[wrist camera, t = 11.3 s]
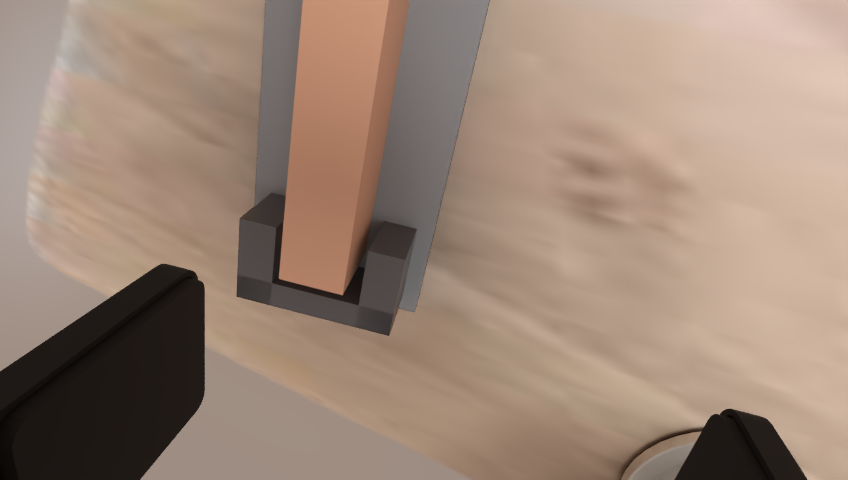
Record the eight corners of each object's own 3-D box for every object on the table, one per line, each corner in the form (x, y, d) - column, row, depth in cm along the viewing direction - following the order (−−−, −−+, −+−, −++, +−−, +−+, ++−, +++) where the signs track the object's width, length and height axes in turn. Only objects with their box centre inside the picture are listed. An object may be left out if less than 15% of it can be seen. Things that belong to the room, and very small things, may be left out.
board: (294, -257, 22) (280, -274, 21) (538, -205, 21) (541, -219, 20) (260, 260, 34) (250, 270, 32) (418, 300, 33) (414, 312, 32)
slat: (357, -160, 22) (320, -202, 17) (434, -142, 22) (417, -180, 17) (311, 238, 31) (278, 278, 26) (365, 252, 31) (342, 295, 26)
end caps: (302, -244, 21) (260, -295, 17) (511, -199, 21) (513, -242, 17) (266, 263, 32) (236, 296, 28) (401, 298, 32) (389, 335, 28)
